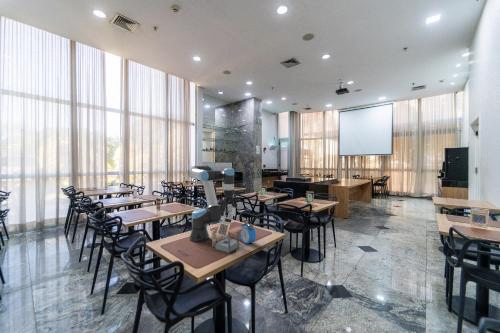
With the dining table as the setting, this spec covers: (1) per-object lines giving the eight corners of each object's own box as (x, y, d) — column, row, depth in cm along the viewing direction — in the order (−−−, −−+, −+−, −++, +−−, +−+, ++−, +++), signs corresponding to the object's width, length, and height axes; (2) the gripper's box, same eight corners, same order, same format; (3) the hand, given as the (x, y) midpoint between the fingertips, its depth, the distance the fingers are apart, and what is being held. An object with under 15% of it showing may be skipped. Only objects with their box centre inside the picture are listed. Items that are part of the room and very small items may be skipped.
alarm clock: (239, 241, 167) (239, 222, 167) (245, 239, 172) (245, 220, 171) (250, 246, 158) (250, 226, 157) (256, 244, 162) (256, 224, 161)
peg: (211, 246, 157) (211, 230, 157) (213, 245, 159) (213, 229, 159) (214, 247, 155) (214, 231, 155) (216, 246, 158) (216, 230, 157)
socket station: (215, 249, 153) (215, 228, 152) (225, 243, 163) (225, 224, 162) (233, 254, 144) (233, 232, 144) (243, 248, 154) (243, 227, 154)
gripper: (222, 192, 144) (222, 223, 145) (242, 187, 166) (241, 214, 167) (214, 191, 148) (213, 221, 149) (234, 186, 170) (233, 213, 171)
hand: (228, 218), depth 158 cm, fingers open, 13 cm apart
